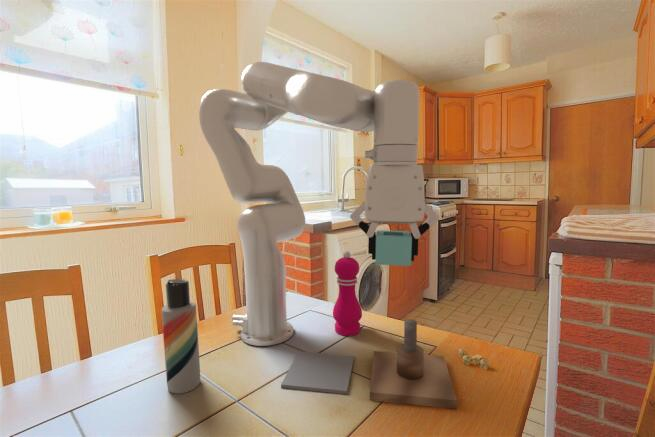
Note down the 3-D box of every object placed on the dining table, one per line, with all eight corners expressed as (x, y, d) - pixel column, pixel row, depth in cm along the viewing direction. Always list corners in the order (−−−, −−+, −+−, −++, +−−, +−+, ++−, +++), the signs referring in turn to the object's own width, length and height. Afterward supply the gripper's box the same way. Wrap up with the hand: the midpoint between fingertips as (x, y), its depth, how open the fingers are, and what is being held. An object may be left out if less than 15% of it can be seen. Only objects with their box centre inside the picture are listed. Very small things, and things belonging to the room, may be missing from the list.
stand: (369, 400, 58) (369, 336, 56) (373, 357, 71) (373, 305, 70) (456, 408, 55) (458, 342, 54) (443, 363, 69) (444, 309, 68)
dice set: (489, 373, 66) (489, 363, 66) (460, 369, 68) (461, 360, 67) (484, 359, 71) (484, 350, 71) (458, 356, 72) (458, 348, 72)
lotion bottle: (164, 383, 63) (156, 279, 61) (195, 372, 67) (189, 273, 65) (171, 398, 59) (163, 286, 57) (204, 386, 62) (198, 280, 60)
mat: (281, 387, 62) (281, 384, 61) (298, 354, 73) (298, 351, 73) (347, 394, 59) (347, 390, 59) (354, 358, 71) (354, 355, 71)
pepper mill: (363, 337, 81) (363, 254, 78) (332, 337, 81) (331, 254, 79) (360, 324, 88) (360, 248, 86) (333, 324, 88) (331, 248, 86)
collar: (375, 264, 59) (375, 235, 58) (376, 256, 65) (376, 230, 64) (410, 265, 58) (411, 237, 57) (408, 257, 64) (409, 231, 63)
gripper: (343, 156, 57) (342, 261, 59) (451, 155, 54) (446, 266, 56) (348, 158, 64) (347, 252, 66) (443, 157, 61) (439, 255, 64)
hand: (392, 257), depth 61 cm, fingers closed on collar, 5 cm apart
